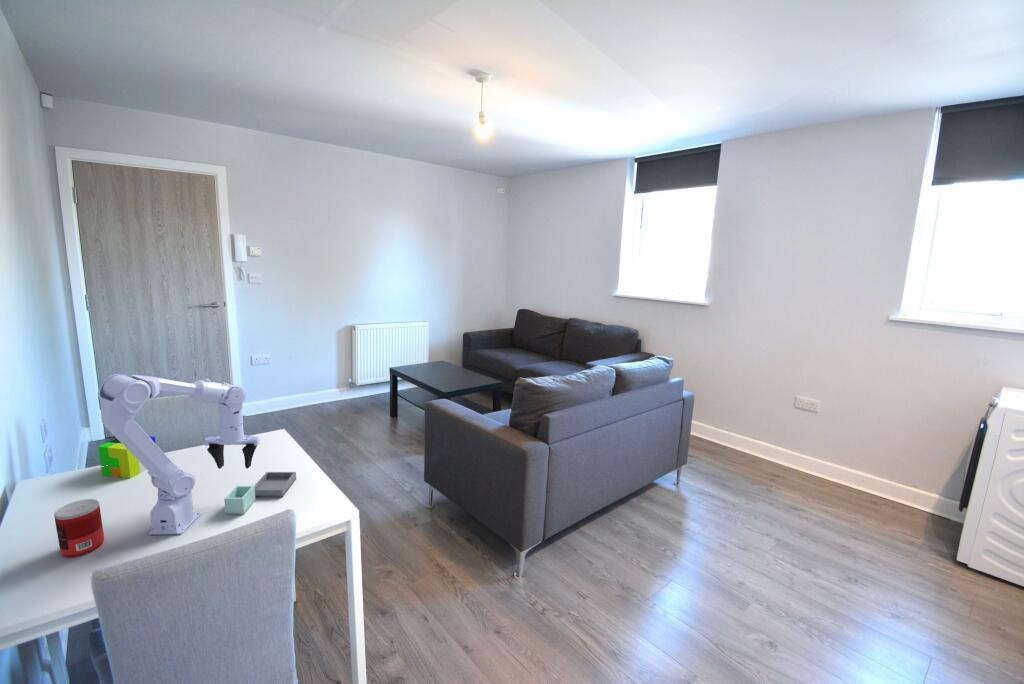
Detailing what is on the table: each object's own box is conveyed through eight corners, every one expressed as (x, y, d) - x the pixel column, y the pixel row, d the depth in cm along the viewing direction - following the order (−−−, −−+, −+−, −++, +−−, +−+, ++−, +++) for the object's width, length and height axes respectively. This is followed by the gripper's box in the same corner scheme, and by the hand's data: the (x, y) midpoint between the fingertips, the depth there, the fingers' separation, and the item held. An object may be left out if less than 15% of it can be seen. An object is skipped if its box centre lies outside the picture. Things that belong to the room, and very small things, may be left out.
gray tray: (296, 478, 148) (295, 471, 147) (282, 497, 137) (282, 489, 136) (266, 478, 147) (266, 471, 146) (251, 497, 136) (250, 490, 135)
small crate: (255, 500, 134) (254, 485, 133) (244, 514, 127) (243, 498, 126) (237, 501, 134) (236, 485, 133) (225, 514, 127) (224, 498, 126)
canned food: (112, 537, 115) (107, 499, 113) (84, 559, 107) (78, 517, 105) (82, 537, 115) (75, 498, 112) (51, 558, 107) (44, 516, 104)
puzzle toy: (158, 464, 152) (154, 436, 150) (130, 478, 143) (126, 449, 141) (131, 461, 153) (127, 434, 151) (102, 475, 144) (97, 446, 142)
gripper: (263, 419, 137) (265, 460, 139) (212, 419, 135) (215, 460, 137) (253, 428, 130) (256, 471, 132) (199, 428, 128) (203, 472, 130)
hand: (234, 466), depth 134 cm, fingers open, 7 cm apart
